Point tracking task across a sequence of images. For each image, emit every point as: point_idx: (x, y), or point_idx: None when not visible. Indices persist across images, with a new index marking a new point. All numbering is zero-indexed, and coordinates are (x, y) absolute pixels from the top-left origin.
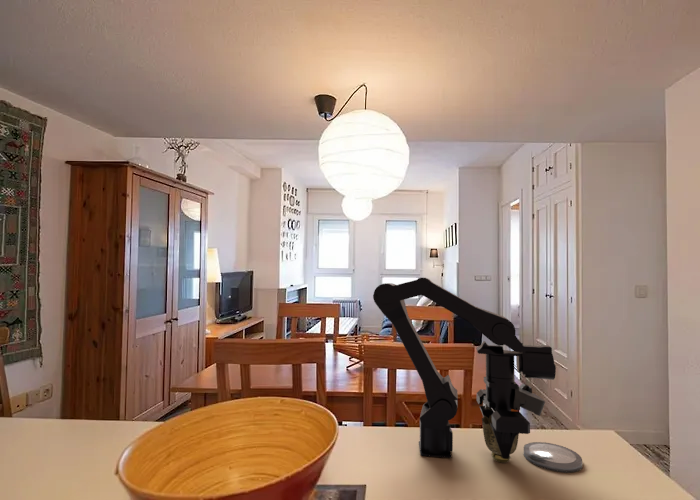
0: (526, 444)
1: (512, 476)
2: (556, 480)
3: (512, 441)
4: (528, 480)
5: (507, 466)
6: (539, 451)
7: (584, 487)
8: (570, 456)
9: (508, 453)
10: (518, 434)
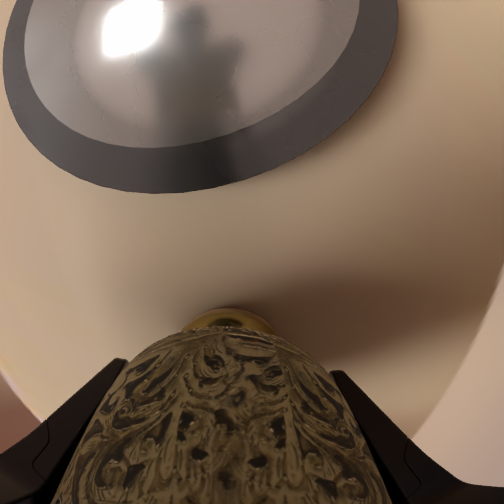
0: (33, 141)
1: (395, 329)
2: (457, 129)
3: (421, 457)
4: (437, 274)
5: (304, 328)
6: (146, 64)
7: (491, 44)
8: None
9: (360, 397)
10: (331, 458)
